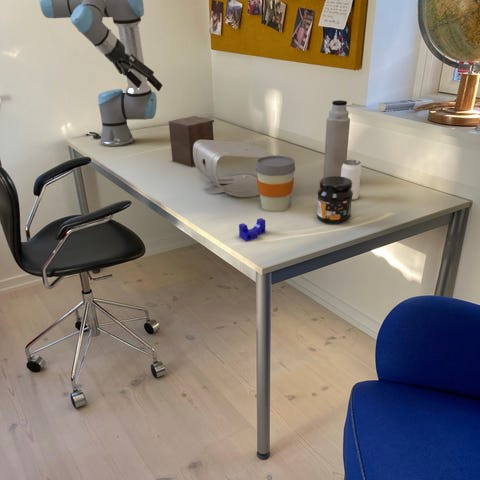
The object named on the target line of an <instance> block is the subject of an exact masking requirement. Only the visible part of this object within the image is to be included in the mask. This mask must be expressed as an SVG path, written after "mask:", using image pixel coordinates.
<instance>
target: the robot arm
mask: <svg viewBox="0 0 480 480" xmlns="http://www.w3.org/2000/svg"><path fill="white" fill-rule="evenodd" d="M39 6H40V11H41V13H42V15H43V16H44V17H45V18H47V19H68V18H69V19H70V22H71V24H72V25H73V26H74V27H75V28H76V30H77V31H78V32H79V33H81V34H82V35H83V36H84V37H85V38H86V39H87V40H88V41H89V42H90V43H91V44H92V45H93V46H94V47H95V48H96V50H98V51H99V52H100V54H102V55H103V56H104V57H105V58H106V60H108V61H109V62H111V63H112V64H113V66H114V67H115V70H117V72H118V74H120V75H123V76H125V77H126V83H127V87H126V88H125V92H124V90H123V89H122V88H116V89H110V90H106V91H103V92H100V93H99V94H98V96H97V100H98V108H99V114H100V119H101V125H102V126H101V127H102V128H101V134H99V133H97V132H95V131H89V133H90V134H87V133H86V134H85V136H89V135H93V137H92V138H93V139H100V143H101V145H103V146H105V147H122V146H127V145H130V144H132V143H134V137H133V134H132V133H131V130H130V127H129V126H128V121H129V120H131V121H132V120H136V121H137V120H143V121H146V120H152V119H154V118H155V117H156V113H157V106H158V105H157V104H158V103H157V101H158V100H157V99H158V98H157V93H156V92H154V91H152V87H153V88H154V89H155V90H156V91H157V92H160V91H161V90H162V87H163V84H162V82H161V81H160V80H159V79H157V78H156V76H155V75H154V73H155V72H154V70H152V69H151V68H149V67H148V66H147V65H146V64H145V62H144V61H145V60H144V55H143V47H142V41H141V33H140V27H139V25H140V23H141V22H142V17H143V16H144V15H145V6H144V1H143V0H39ZM104 18H112V22H113V24H114V25H115V26H116V27H117V29H118V35H119V38H117V36H116V35H115V34H114V33H113V32H112V29H110V28H108V26H106V25H105V24H104V22H103V19H104ZM148 83H150V84H151V86H152V87H151V86H150V85H149V84H148ZM100 135H101V136H100Z"/></svg>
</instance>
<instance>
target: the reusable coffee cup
mask: <svg viewBox="0 0 480 480" xmlns="http://www.w3.org/2000/svg"><path fill="white" fill-rule="evenodd" d="M295 163H296V162H295V159H294V158H292V157H290V156H285V155H279V156H276V155H275V156H266V157H262V158H257V160H256V163H255V165H256V166H255V172H256V174H257V175H256V177H257V186H258V192H259V194H260V195H259V198H260V206H261V208H262V209H263V210H265V211H268V212H282V211H286V210H287V209H288V208H289V206H290V200H291V194H292V193H293V189H294V182H295V178H294V173H295V171H296V164H295Z"/></svg>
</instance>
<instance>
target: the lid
mask: <svg viewBox="0 0 480 480" xmlns="http://www.w3.org/2000/svg"><path fill="white" fill-rule="evenodd" d="M212 122H213V123H214V122H215V119H212V118H211V119H210V118H206V117H202V116H196V115H192V116H187V117H182V118H178V119H173V120H169V121H168V124H169V123H170V124H174V125H179V126H183V127H187V128H190V127H194V126H199V125H203V124H207V123H212Z"/></svg>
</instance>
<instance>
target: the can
mask: <svg viewBox="0 0 480 480" xmlns="http://www.w3.org/2000/svg"><path fill="white" fill-rule="evenodd" d="M361 175H362V165H361V161H359V160H356V159H347V160H346V161H344V162H343V165H342V168H341V177H345V178H348V179H350V180H351V181H352V188H351V190H352V191H353V196H352V201H355V200H357V199H358V198H359V195H360V187H361V177H362V176H361Z"/></svg>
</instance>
